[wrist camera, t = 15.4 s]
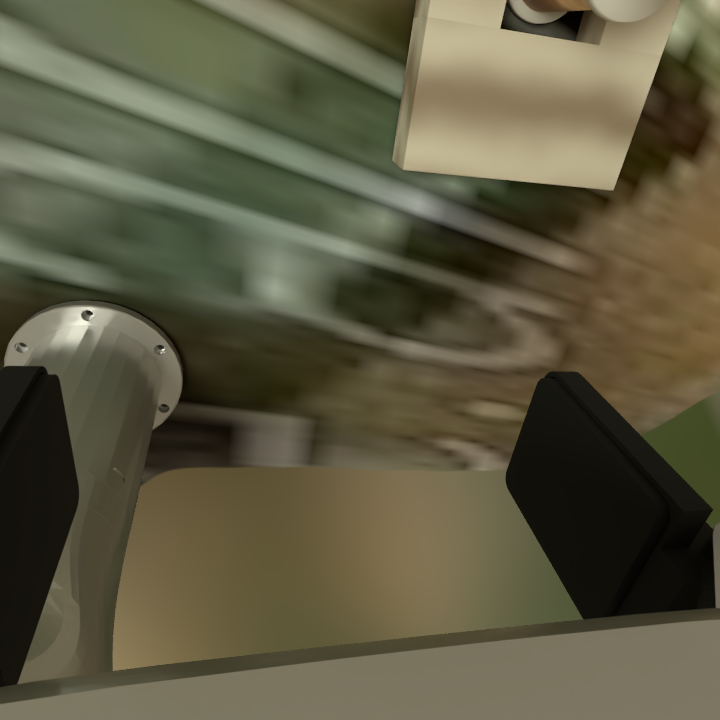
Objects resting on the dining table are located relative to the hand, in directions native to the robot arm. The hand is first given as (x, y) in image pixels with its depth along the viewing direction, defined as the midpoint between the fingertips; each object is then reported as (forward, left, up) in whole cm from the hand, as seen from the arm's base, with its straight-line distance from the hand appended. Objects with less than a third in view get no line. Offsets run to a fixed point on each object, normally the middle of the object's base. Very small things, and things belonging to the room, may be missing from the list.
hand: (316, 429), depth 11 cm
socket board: (+9, -17, -30) cm, 36 cm away
